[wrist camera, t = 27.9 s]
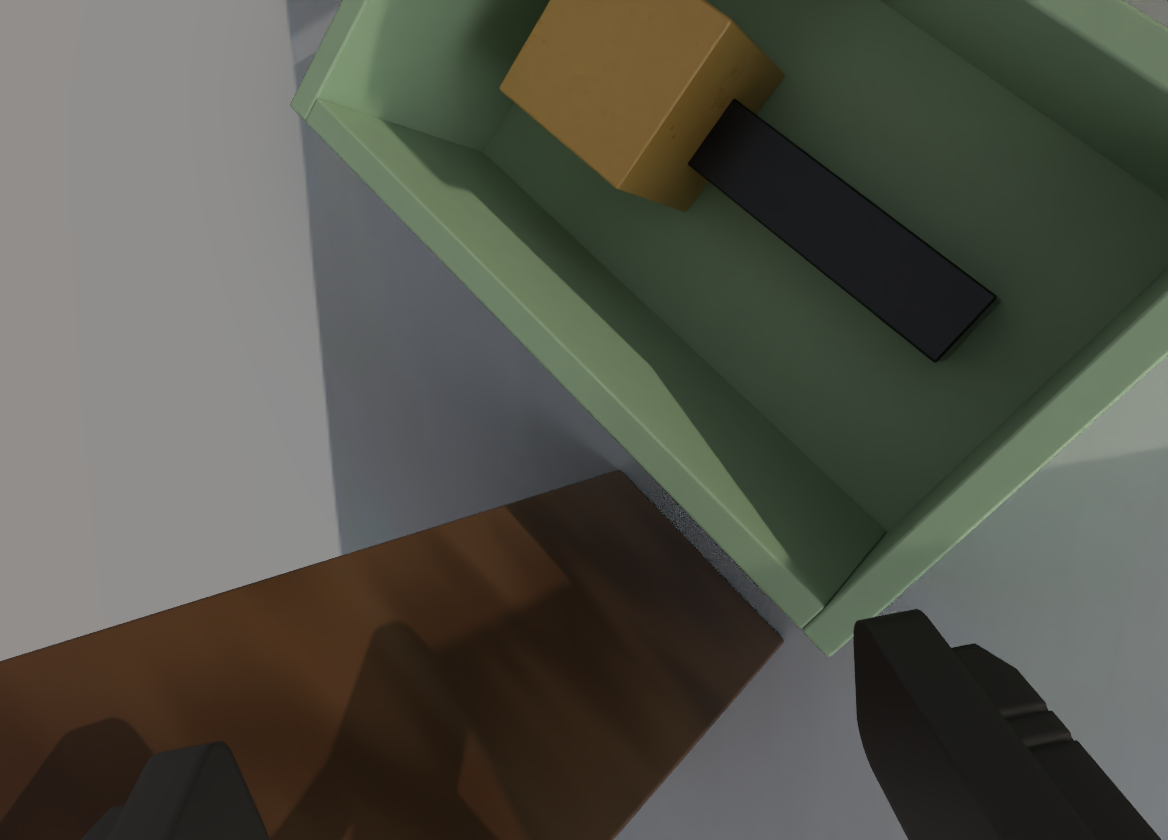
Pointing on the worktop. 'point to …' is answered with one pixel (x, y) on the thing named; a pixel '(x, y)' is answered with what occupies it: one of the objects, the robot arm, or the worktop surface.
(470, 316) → the worktop surface
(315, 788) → the wood grain block
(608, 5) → the mallet
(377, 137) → the bin
